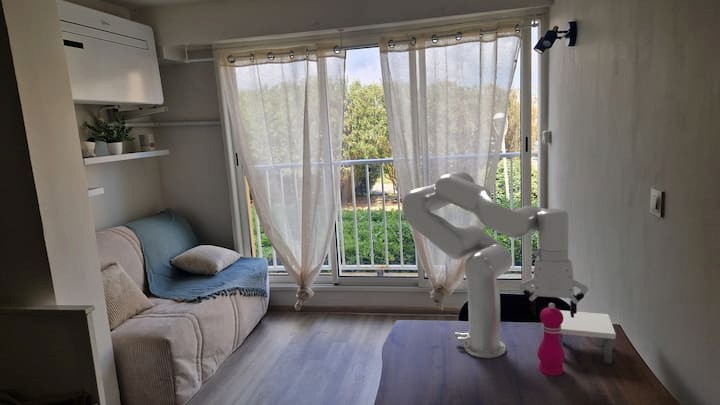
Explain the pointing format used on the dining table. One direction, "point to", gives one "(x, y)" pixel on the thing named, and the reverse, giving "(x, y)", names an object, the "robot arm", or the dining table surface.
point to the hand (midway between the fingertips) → (553, 314)
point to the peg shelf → (590, 329)
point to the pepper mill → (551, 342)
